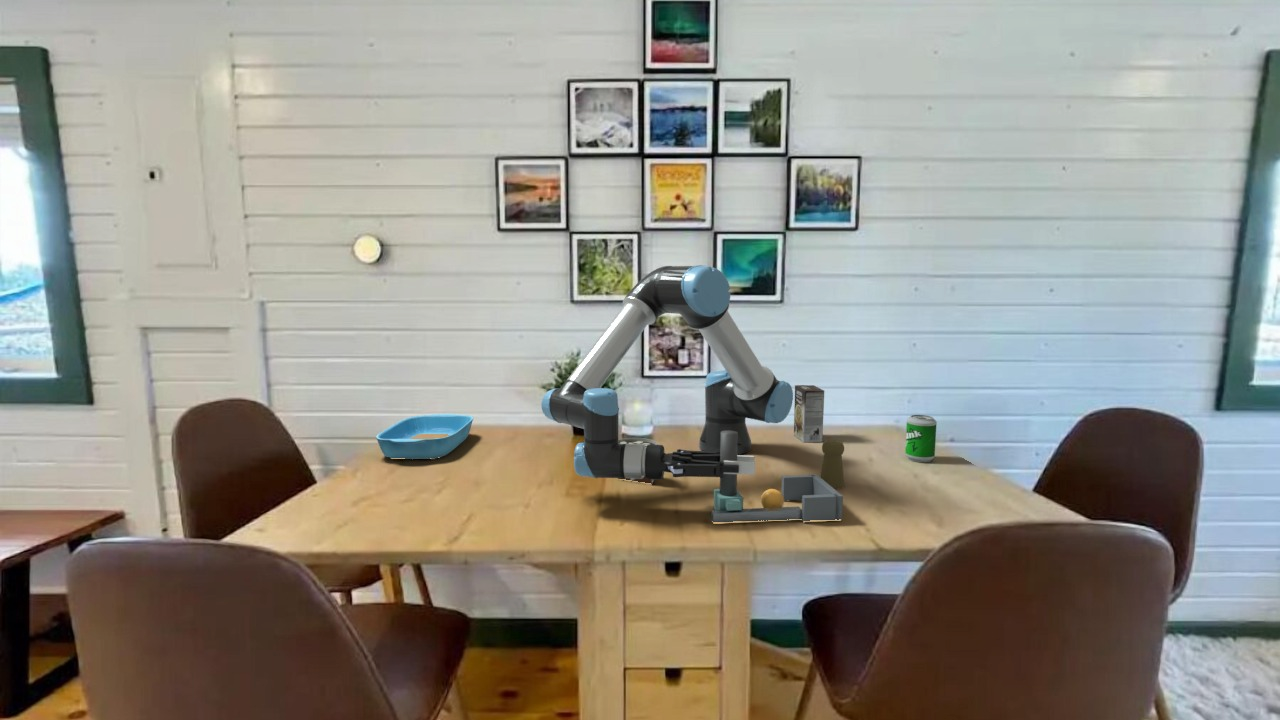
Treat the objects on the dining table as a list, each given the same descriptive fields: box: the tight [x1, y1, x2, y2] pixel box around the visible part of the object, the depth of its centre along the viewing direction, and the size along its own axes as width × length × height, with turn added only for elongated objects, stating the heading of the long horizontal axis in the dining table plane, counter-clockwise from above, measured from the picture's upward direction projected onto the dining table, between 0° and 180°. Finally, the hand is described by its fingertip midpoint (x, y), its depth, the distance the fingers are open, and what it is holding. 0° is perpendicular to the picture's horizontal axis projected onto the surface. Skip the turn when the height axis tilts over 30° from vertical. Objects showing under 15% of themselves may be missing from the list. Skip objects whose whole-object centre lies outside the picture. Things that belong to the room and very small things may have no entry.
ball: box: [760, 488, 785, 508], centre depth 149 cm, size 5×5×5 cm
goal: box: [781, 474, 844, 521], centre depth 150 cm, size 8×15×6 cm, turn 6°
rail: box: [710, 505, 802, 522], centre depth 143 cm, size 19×2×2 cm, turn 96°
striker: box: [713, 431, 744, 511], centre depth 145 cm, size 5×8×18 cm, turn 6°
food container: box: [617, 437, 659, 485], centre depth 171 cm, size 12×6×10 cm, turn 65°
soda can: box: [904, 414, 938, 463], centre depth 187 cm, size 8×8×12 cm
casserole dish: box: [375, 413, 474, 460], centre depth 203 cm, size 37×22×7 cm, turn 179°
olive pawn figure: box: [819, 439, 845, 489], centre depth 166 cm, size 6×6×11 cm
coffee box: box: [793, 384, 825, 443], centre depth 210 cm, size 9×6×16 cm
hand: (754, 465), depth 146 cm, fingers closed on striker, 4 cm apart
